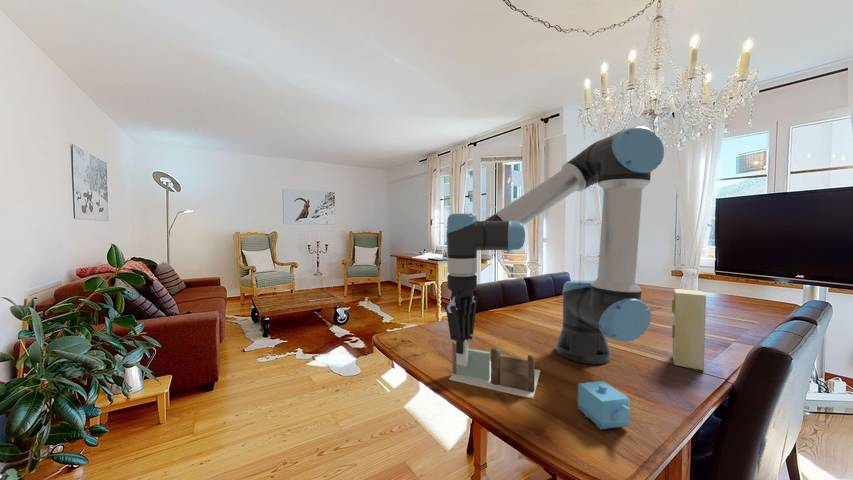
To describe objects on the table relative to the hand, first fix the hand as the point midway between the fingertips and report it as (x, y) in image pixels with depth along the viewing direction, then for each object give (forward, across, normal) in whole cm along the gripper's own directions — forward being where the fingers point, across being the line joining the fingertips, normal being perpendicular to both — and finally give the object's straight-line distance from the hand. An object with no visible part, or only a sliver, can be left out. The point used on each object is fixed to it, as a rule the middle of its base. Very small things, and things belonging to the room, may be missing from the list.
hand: (462, 364), depth 81 cm
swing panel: (+4, -3, +1) cm, 5 cm away
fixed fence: (+4, -5, +12) cm, 13 cm away
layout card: (+5, -8, +6) cm, 11 cm away
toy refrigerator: (+5, -49, +46) cm, 67 cm away
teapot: (+5, -3, +32) cm, 33 cm away
